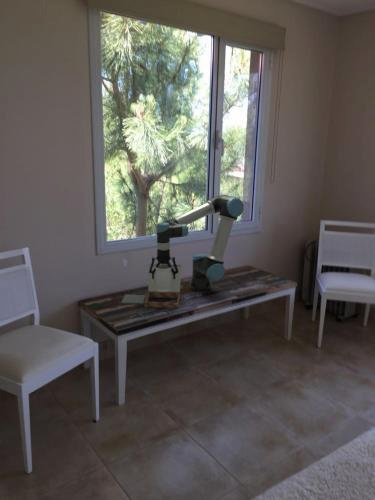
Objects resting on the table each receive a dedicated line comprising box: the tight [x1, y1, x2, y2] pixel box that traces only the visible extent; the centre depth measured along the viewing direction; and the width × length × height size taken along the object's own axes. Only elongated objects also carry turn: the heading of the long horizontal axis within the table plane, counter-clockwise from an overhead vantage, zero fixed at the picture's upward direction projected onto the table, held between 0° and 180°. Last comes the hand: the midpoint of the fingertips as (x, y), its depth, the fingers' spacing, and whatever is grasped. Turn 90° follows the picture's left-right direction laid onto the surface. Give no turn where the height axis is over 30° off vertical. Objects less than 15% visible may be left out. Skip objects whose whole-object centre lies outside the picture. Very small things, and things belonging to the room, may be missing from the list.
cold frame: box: [144, 291, 181, 309], centre depth 255 cm, size 20×17×3 cm
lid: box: [148, 263, 182, 293], centre depth 263 cm, size 20×17×1 cm
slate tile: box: [120, 294, 147, 306], centre depth 257 cm, size 13×13×1 cm
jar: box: [155, 264, 172, 293], centre depth 252 cm, size 11×10×15 cm
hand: (163, 283), depth 253 cm, fingers closed on jar, 10 cm apart
